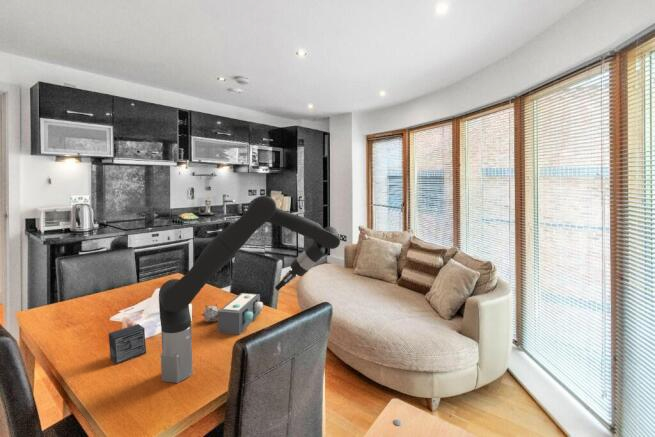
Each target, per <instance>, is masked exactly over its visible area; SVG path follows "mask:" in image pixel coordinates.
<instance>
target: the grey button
mask: <svg viewBox="0 0 655 437" xmlns="http://www.w3.org/2000/svg"><path fill="white" fill-rule="evenodd" d="M263 307H264V303H263V301H260V302H255V303H254V311H260V312H262V311H263V309H264V308H263Z"/></svg>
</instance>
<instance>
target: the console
mask: <svg viewBox="0 0 655 437" xmlns="http://www.w3.org/2000/svg"><path fill="white" fill-rule="evenodd" d="M255 302H261V294H260V293H247V292H241V293H239V294H237V296H236V297H234V298H233V299H231V300H230V301H229V302H228V303H226V304H225V305H224V306H223V307H221V308H220V309H218V318H217V327H218V328H217V329H218V332H217V333H218V334H227V335H235V336H240V335H241V334H242V333H243V332H244V331H245V330H246V329H247V328H248V327H249V326H250V325H251V323H253V321H254V320H255V319H256V318H257V317H258V316H260V314H261V311H254V303H255ZM245 311H249V312H253V319H252V321H251V322H246V321H243V315H244V312H245Z"/></svg>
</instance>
